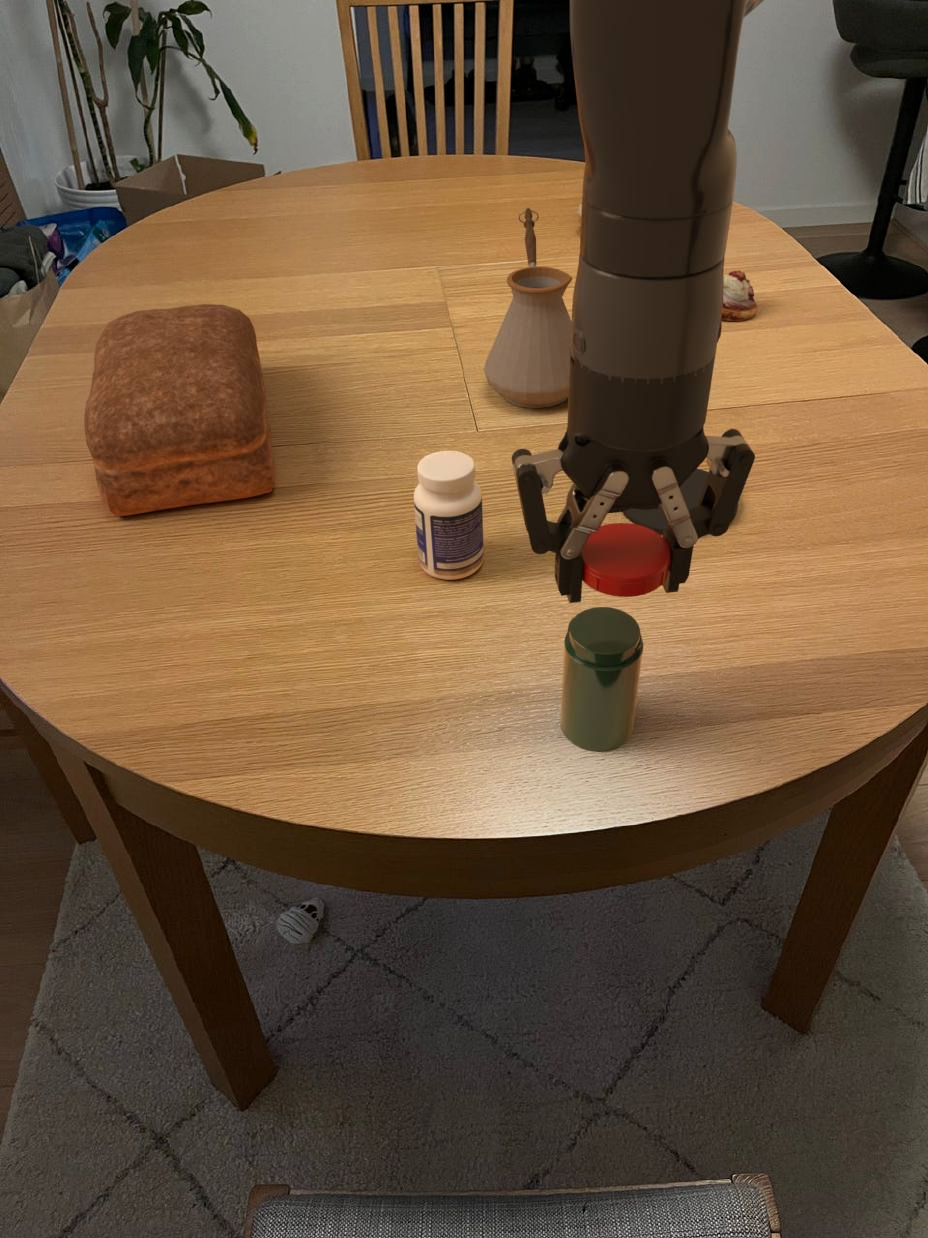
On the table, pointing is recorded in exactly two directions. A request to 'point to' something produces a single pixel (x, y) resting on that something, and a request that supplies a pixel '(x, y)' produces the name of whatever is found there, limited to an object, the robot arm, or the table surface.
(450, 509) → the pill bottle
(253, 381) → the bread
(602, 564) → the lid
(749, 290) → the pastry
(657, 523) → the coaster
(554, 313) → the coffee pot
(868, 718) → the table surface
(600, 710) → the jar
